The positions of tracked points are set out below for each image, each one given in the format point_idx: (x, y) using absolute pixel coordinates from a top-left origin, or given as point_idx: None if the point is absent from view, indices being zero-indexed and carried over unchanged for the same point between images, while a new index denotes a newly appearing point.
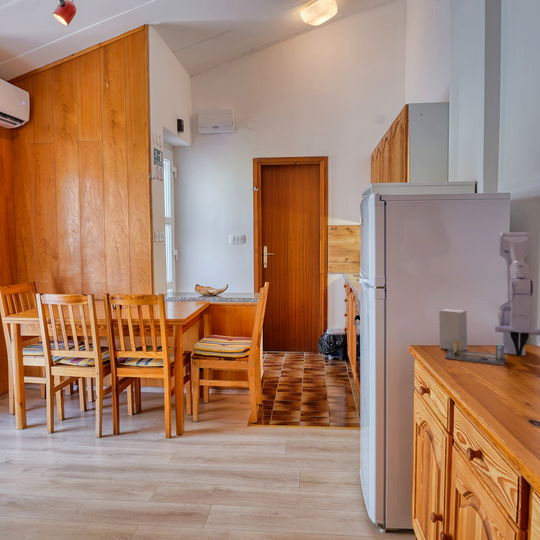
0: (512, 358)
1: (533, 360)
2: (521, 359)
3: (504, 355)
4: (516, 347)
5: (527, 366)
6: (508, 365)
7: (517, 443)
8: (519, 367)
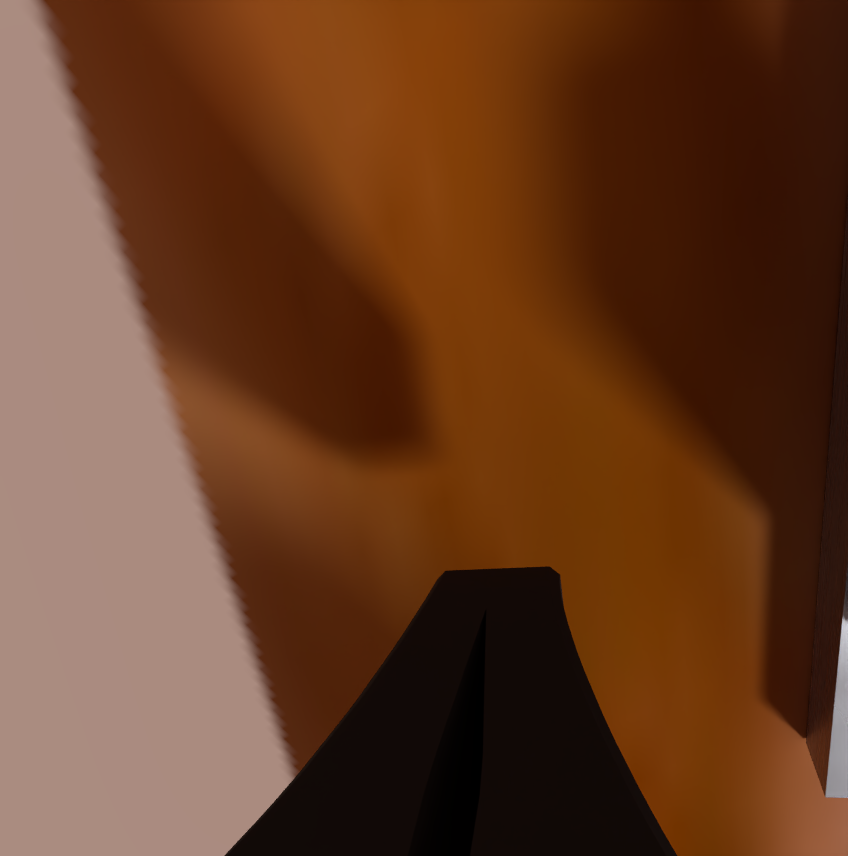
0: (663, 759)
1: None
2: None
3: (845, 757)
4: (560, 741)
5: (287, 284)
6: (717, 76)
7: None
8: (419, 37)
